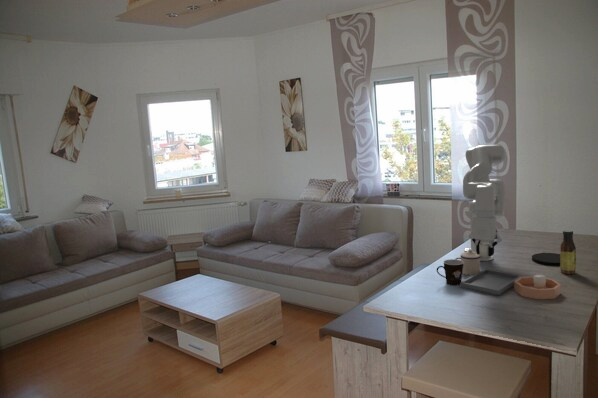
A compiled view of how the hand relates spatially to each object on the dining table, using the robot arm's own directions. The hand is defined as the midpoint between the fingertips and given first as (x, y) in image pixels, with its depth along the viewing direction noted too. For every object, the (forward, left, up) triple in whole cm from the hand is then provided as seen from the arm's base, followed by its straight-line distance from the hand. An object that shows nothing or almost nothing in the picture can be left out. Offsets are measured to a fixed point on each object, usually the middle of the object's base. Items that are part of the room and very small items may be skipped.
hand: (485, 254), depth 196 cm
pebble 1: (0, 0, 0) cm, 0 cm away
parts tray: (0, +6, -15) cm, 16 cm away
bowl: (+19, +8, -15) cm, 25 cm away
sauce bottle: (+20, +41, -15) cm, 48 cm away
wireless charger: (+8, +56, -16) cm, 58 cm away
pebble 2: (+19, +11, -14) cm, 26 cm away
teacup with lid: (-16, +15, -15) cm, 27 cm away
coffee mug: (-15, -3, -15) cm, 22 cm away
